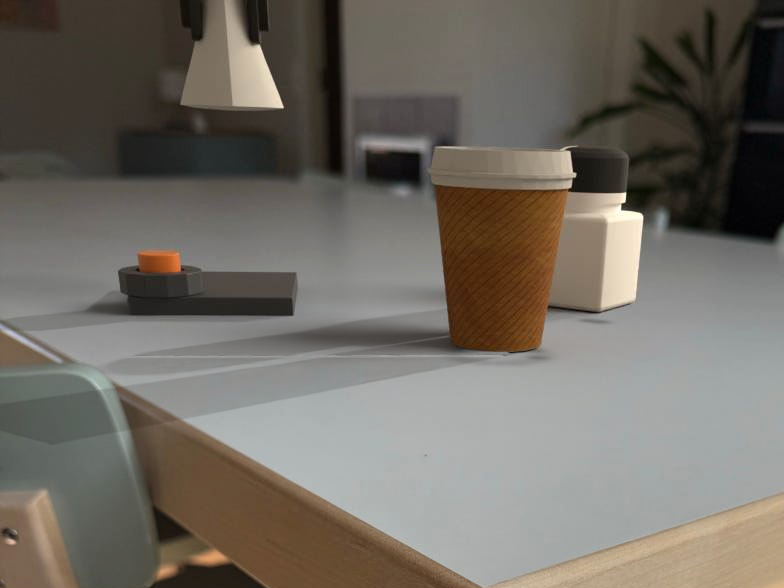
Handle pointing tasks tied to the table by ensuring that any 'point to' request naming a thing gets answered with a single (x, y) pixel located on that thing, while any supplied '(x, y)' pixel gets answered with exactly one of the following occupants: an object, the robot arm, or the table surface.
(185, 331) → the table surface
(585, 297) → the medicine bottle
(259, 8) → the robot arm
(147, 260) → the button
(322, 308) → the table surface
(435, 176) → the disposable coffee cup
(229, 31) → the flask
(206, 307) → the scale
